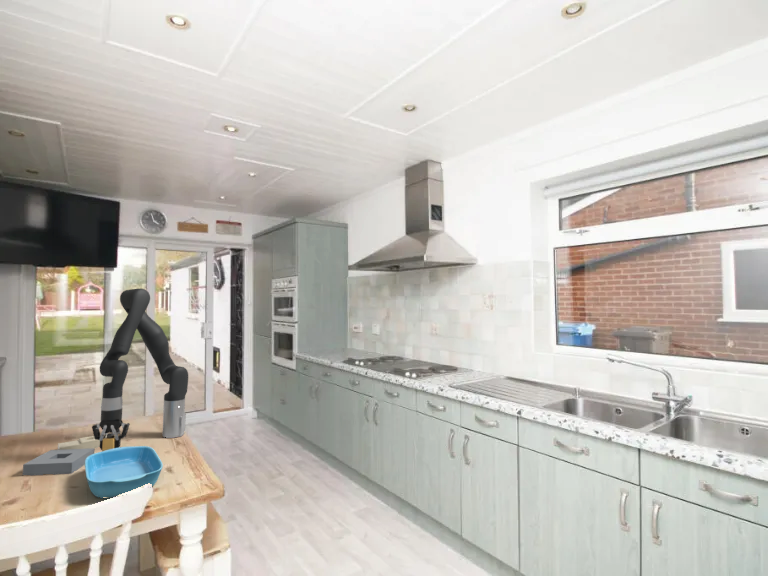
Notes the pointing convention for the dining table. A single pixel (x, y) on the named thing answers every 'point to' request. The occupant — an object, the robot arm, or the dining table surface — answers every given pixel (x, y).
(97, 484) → the casserole dish
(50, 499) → the dining table surface
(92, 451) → the socket
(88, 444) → the electrical outlet
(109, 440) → the plug
